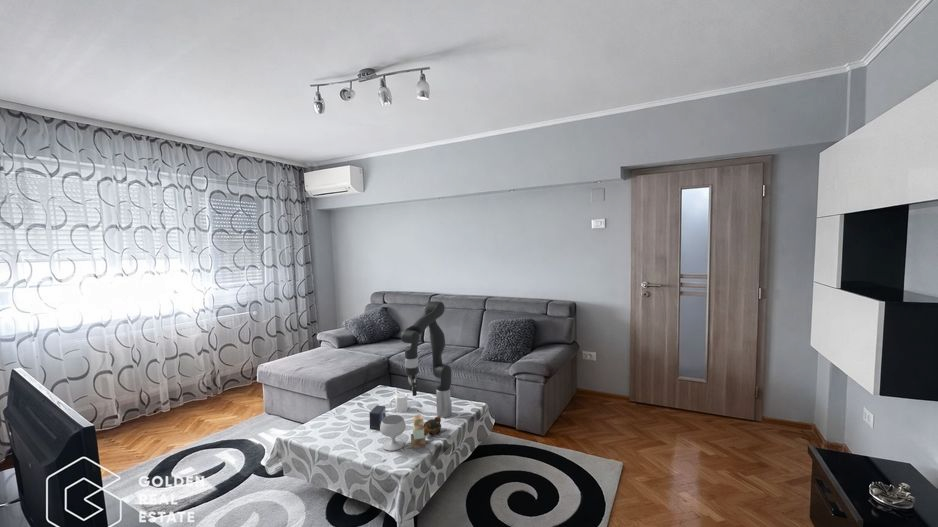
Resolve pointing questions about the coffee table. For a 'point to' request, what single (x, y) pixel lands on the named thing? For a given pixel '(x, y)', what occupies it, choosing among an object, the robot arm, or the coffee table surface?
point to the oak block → (418, 422)
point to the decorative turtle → (432, 426)
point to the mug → (400, 402)
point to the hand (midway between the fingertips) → (413, 392)
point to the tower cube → (418, 434)
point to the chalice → (393, 431)
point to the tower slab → (418, 442)
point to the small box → (377, 417)
